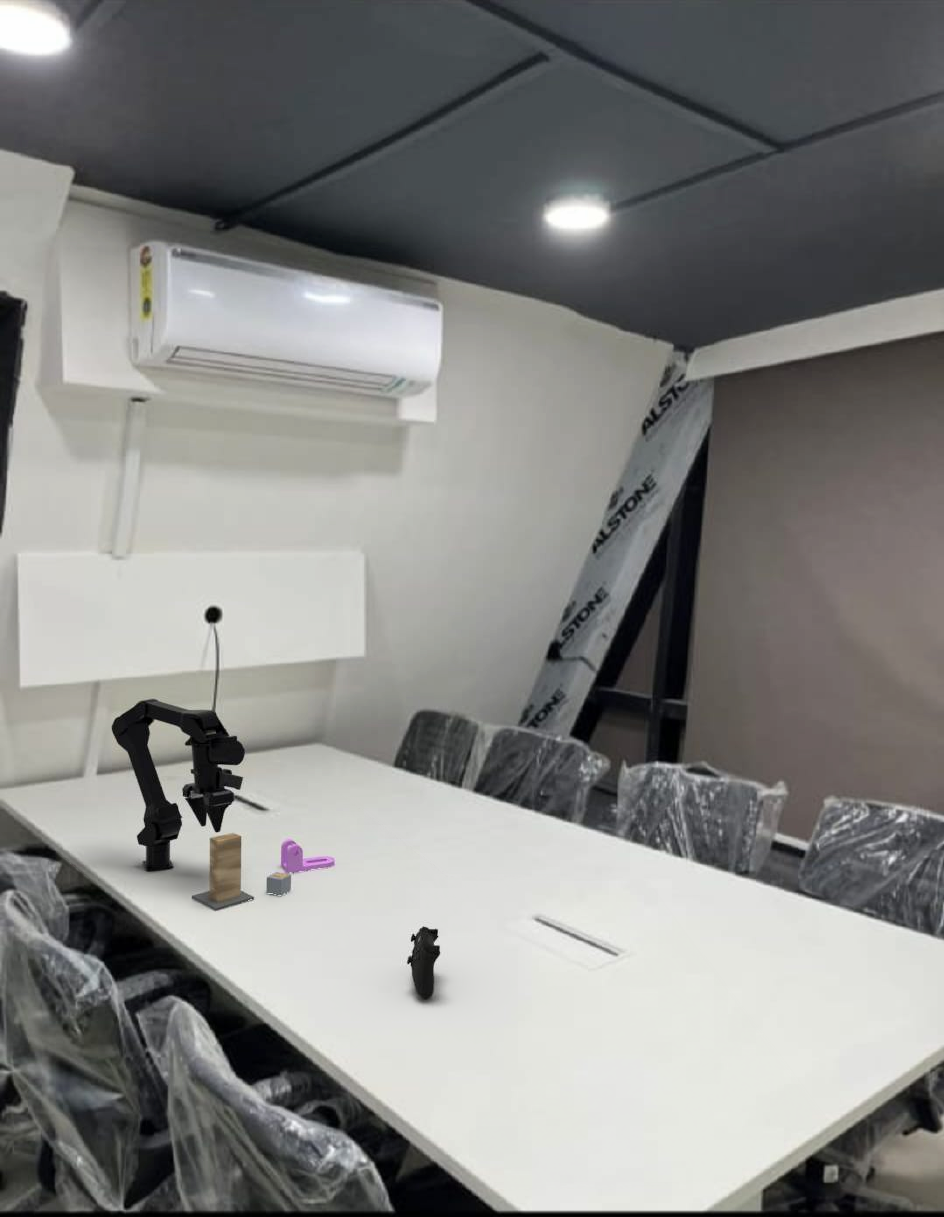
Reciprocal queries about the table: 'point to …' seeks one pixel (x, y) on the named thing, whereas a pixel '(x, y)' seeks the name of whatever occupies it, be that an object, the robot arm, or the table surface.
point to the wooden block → (225, 867)
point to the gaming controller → (424, 960)
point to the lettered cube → (279, 883)
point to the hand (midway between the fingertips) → (210, 829)
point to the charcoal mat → (216, 906)
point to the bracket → (301, 858)
